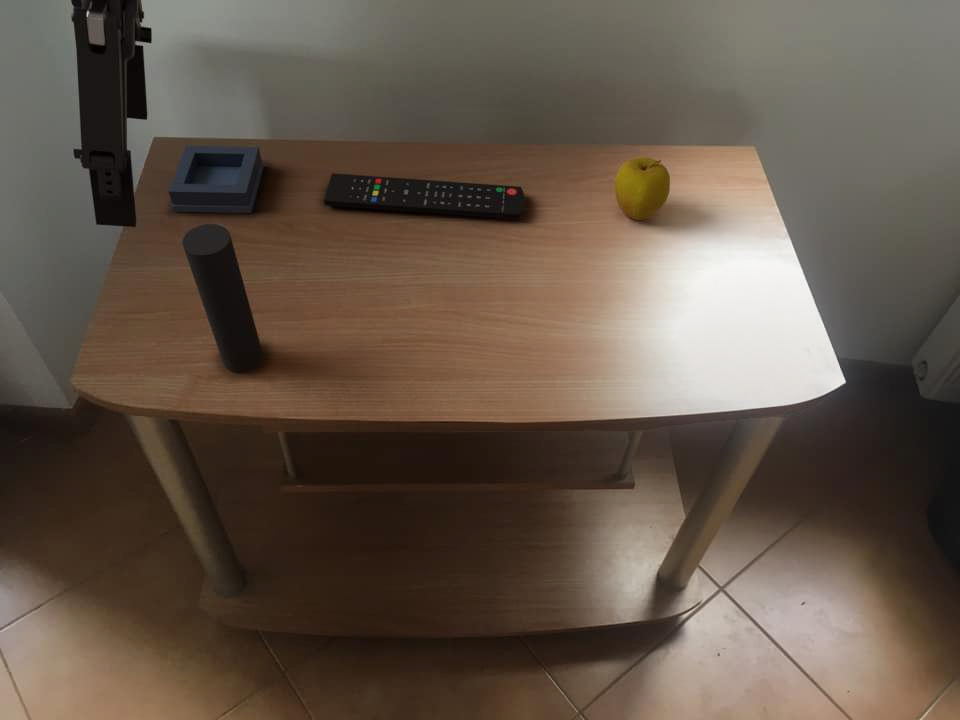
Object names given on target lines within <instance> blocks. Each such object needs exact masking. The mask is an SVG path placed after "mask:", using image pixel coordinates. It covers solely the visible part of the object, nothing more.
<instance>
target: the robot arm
mask: <svg viewBox="0 0 960 720" xmlns="http://www.w3.org/2000/svg"><path fill="white" fill-rule="evenodd" d="M70 2H71V5H72V7H73V8H72V12H71V13H70V16H71V17H70V18H71V22H72V23H73V30H74V39H75V48H76V49H75V51H76V68H77V70H76V71H77V88H78V89H77V91H78V107H79V127H80V146H81V148H73V149H72V151H73V157H74V159H75V160H80V163H81V167H82V168H83V169H86V170H87V169H88V173H89V174H88V175H89V181H90V188H91V195H92V202H93V210H94V217H95V223H96V224H95V225H97V226H109V227H110V226H112V227H126V228H127V227H128V228H136V227H137V212H136V201H135V200H136V199H135V198H136V197H135V187H134V175H133V174H134V173H133V164H132V163H133V162H132V152H131V150H130V149H128V119H133V120H134V119H135V120H142V121H147V120H148V102H147V84H146V69H145V68H146V67H145V54H144V53H145V52H144V51H145V50H144V45H140V44H136V43H137V42H138V43H145V44H152V41H153V31H152V30H153V29H152V27H148V26H142V24H141V23H143V20H144V19H145V11H144V10H143V5H142V0H70Z"/></svg>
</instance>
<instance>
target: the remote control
mask: <svg viewBox="0 0 960 720" xmlns="http://www.w3.org/2000/svg"><path fill="white" fill-rule="evenodd" d="M323 204H324V206H327V207H328V206H329V207H342V208H343V207H344V208H355V209H356V208H357V209H370V210H371V209H372V210H386V211H399V212H400V211H401V212H412V213H413V212H414V213H428V214H442V215H456V216H469V217H484V218H495V219H496V218H497V219H511V220H520V219H521V218H522V217H523V215H524V211H525V206H526V205H525V204H526V198H525V193H524V191H523V188H522V186H518V185H517V186H516V185H515V186H514V185H503V184H502V185H500V184H488V183H474V182H461V181H460V182H459V181H447V180H431V179H417V178H403V177H390V176H389V177H388V176H375V175H362V174H349V173H335V172H333V173H331V176H330V178H329V182H328V186H327V189H326V192H325V196H324V198H323Z"/></svg>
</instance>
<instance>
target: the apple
mask: <svg viewBox="0 0 960 720" xmlns="http://www.w3.org/2000/svg"><path fill="white" fill-rule="evenodd" d="M661 162H662V159H659V160H657V159H655V158H651V157H636V158H631V159H628V160H627V161H625V162H624V163H623V164H622V165H621V166H620V168H619V169H618V172H617V174H616V176H615V180H614V194H615V198H616V202H617V204H618V207H619V208H620V210H621V212H622V213H623V215H625V217H627V218H628V219H629V218H630V219H632V220H636V221H642V220H643V221H644V220H646V219H649V218H652V217H653V216H655V215H656V214H657V213H658V212H659V210H661V208H662V207H663V206H664V204H665V203H666V201H667V199H668V197H669V194H670V189H671V176H670V172H669V171H668V169H667V168H666V166H665V165H664V164H662V163H661Z"/></svg>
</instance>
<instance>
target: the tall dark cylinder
mask: <svg viewBox="0 0 960 720" xmlns="http://www.w3.org/2000/svg"><path fill="white" fill-rule="evenodd" d="M181 242H182V243H181V244H182V247H183V250H184V253H185V257H186V259H187V263H188V265H189V267H190V270H191V273H192V276H193V279H194V282H195V285H196V288H197V291H198V294H199V297H200V299H201V304H202V305H203V309H204V312H205V314H206V317H207V320H208V323H209V326H210V329H211V332H212V335H213V338H214V341H215V343H216V346H217V349H218V352H219V355H220V358H221V361H222V364H223V366H224V367H225V369H227V371H229V372H231V373H235V374H245V373H249V372H252V371H253V370H255V369H257V368H258V367H259V366H260V365H261V363H262V362H263V359H264V351H263V349H262V345H261V341H260V337H259V334H258V330H257V327H256V323H255V319H254V316H253V312H252V308H251V305H250V301H249V298H248V294H247V290H246V287H245V283H244V280H243V276H242V272H241V269H240V265H239V262H238V257H237V255H236V250H235V247H234V244H233V240H232V236H231V233H230V231H229V230H228V229H227V227H224V226H223V225H220V224H216V223H205V224H200V225H197V226H195V227H192V228H191V229H190V230H188V231H187V232H186V233H185V234H184V236H183V238H182V241H181Z"/></svg>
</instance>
